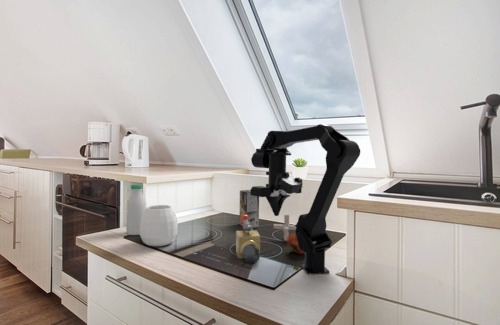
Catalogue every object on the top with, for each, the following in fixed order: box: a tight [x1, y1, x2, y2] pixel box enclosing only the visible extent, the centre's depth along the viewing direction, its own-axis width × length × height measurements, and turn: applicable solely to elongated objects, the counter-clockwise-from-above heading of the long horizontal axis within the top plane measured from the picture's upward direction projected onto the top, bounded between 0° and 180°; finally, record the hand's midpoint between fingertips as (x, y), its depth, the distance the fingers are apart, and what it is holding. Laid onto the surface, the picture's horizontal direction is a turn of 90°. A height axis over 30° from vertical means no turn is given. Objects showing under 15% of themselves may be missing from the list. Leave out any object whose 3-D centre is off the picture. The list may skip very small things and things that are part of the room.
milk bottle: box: [125, 183, 148, 236], centre depth 120 cm, size 8×8×20 cm
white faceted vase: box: [139, 204, 179, 247], centre depth 107 cm, size 13×13×14 cm
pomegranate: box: [286, 232, 305, 256], centre depth 99 cm, size 7×7×10 cm
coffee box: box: [239, 189, 260, 229], centre depth 136 cm, size 9×6×16 cm
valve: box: [235, 229, 261, 265], centre depth 97 cm, size 17×7×8 cm, turn 9°
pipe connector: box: [273, 213, 296, 242], centre depth 114 cm, size 10×10×10 cm
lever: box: [239, 214, 254, 231], centre depth 103 cm, size 15×3×3 cm, turn 7°
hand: (276, 215), depth 98 cm, fingers closed
